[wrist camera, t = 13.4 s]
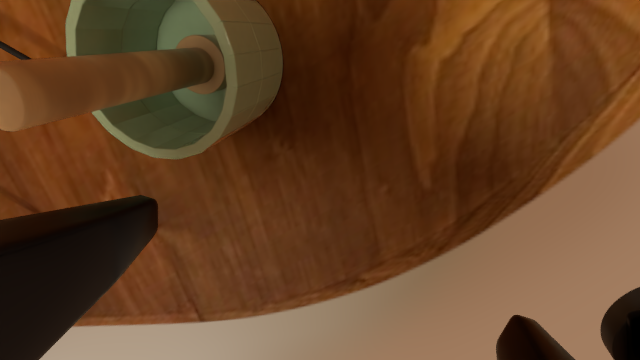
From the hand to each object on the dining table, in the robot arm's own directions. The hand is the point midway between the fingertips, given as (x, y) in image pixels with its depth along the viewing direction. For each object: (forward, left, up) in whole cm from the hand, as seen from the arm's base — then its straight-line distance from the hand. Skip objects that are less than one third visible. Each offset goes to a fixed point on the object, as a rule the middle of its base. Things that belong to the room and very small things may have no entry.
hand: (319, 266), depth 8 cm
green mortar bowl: (+6, +7, -13) cm, 16 cm away
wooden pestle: (+6, +7, -12) cm, 15 cm away
